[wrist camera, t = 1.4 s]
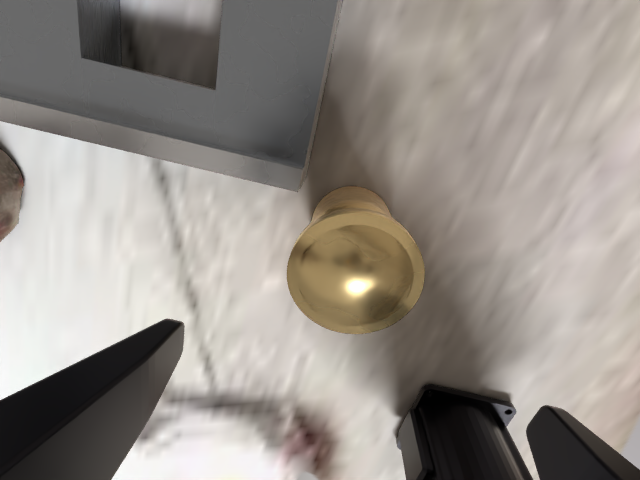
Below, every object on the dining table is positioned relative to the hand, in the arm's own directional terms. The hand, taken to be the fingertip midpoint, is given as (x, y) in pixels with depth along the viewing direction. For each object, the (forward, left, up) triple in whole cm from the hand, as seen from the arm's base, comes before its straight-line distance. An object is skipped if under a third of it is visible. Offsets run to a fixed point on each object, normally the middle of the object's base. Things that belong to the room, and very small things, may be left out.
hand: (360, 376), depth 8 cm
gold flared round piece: (0, 0, -11) cm, 11 cm away
